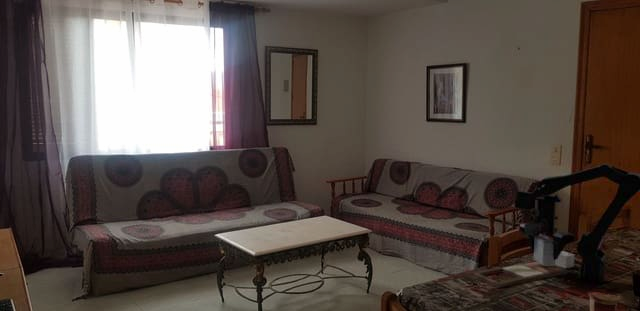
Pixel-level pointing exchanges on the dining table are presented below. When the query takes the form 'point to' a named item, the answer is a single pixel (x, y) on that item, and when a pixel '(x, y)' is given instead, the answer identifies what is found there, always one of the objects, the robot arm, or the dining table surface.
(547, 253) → the medicine box
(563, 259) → the die
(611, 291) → the dining table surface
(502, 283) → the board
